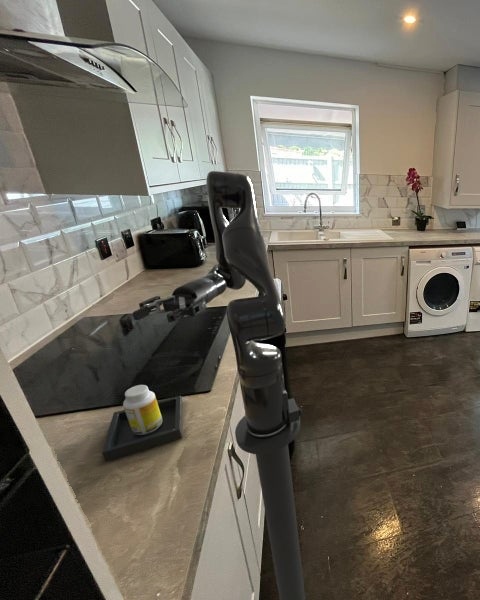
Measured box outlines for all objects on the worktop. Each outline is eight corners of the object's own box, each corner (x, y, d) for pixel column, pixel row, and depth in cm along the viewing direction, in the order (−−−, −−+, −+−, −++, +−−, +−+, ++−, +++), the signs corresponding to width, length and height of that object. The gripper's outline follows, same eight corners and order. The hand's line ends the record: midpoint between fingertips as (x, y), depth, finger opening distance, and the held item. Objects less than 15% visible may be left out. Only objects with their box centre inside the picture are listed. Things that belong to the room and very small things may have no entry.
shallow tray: (182, 403, 81) (180, 395, 80) (182, 438, 71) (179, 429, 70) (116, 420, 75) (113, 412, 74) (105, 462, 65) (101, 452, 64)
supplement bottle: (166, 416, 76) (156, 380, 72) (158, 433, 72) (147, 396, 68) (138, 420, 75) (126, 384, 71) (128, 438, 70) (114, 401, 66)
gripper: (169, 279, 91) (118, 301, 76) (218, 283, 90) (177, 305, 75) (175, 304, 94) (127, 329, 79) (222, 307, 93) (183, 333, 78)
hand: (151, 317), depth 77 cm, fingers open, 8 cm apart
